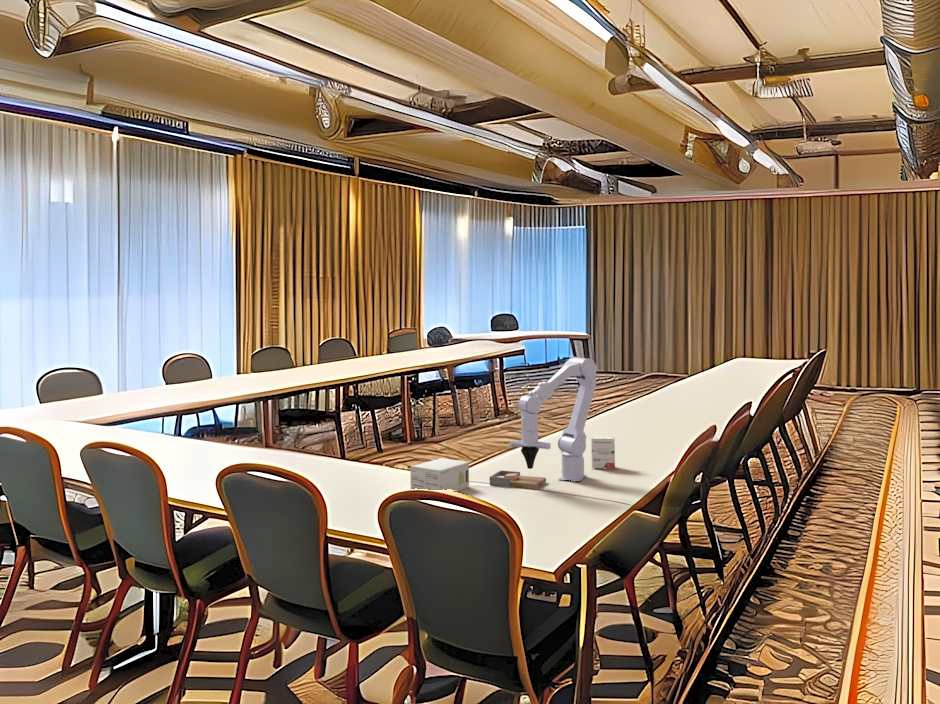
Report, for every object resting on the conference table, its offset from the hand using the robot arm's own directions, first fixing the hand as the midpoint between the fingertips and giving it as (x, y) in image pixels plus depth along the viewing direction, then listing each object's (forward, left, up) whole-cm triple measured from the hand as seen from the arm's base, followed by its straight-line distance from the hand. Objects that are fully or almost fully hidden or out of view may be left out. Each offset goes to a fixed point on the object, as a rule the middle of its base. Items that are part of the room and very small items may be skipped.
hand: (530, 468), depth 300 cm
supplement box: (+16, -27, -7) cm, 32 cm away
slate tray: (-1, -10, -6) cm, 12 cm away
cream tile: (0, -11, -6) cm, 12 cm away
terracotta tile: (0, -7, -5) cm, 8 cm away
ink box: (-35, +17, -6) cm, 39 cm away
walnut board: (0, -1, -6) cm, 6 cm away
